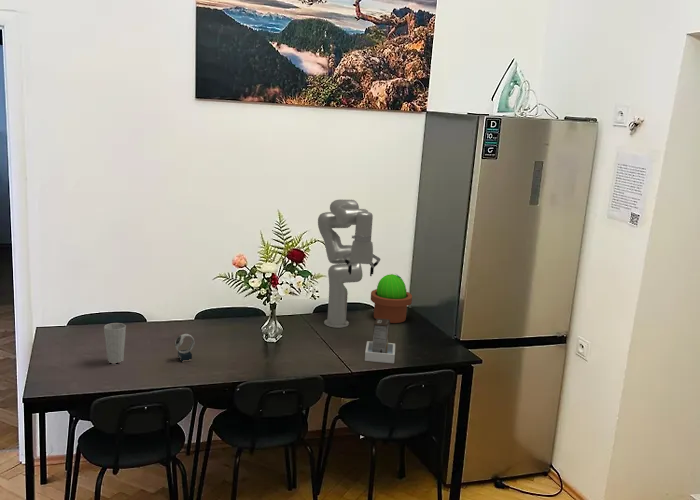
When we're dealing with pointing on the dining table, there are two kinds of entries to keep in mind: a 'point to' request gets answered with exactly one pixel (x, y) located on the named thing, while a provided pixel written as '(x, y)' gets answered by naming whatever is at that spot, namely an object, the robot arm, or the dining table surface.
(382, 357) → the shallow grey tray
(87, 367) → the dining table surface
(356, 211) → the robot arm
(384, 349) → the coffee box
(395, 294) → the potted cactus
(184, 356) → the watch
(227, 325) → the dining table surface
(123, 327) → the cup
